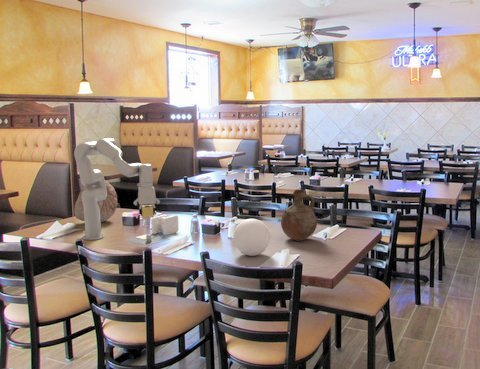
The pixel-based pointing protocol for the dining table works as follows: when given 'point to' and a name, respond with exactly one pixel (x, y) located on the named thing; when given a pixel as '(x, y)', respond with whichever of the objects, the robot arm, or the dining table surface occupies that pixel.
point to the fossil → (99, 204)
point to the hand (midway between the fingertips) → (147, 214)
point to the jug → (299, 217)
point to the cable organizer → (164, 224)
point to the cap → (147, 211)
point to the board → (156, 239)
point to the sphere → (251, 237)
